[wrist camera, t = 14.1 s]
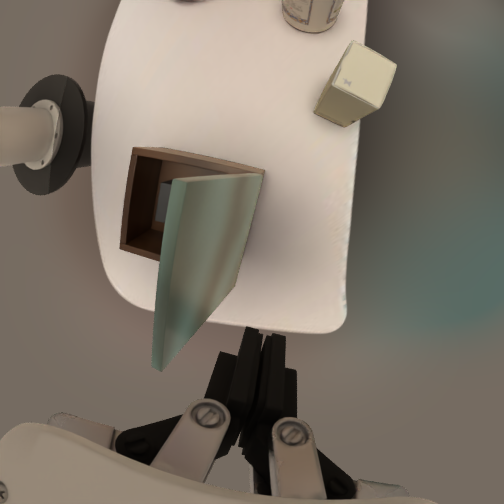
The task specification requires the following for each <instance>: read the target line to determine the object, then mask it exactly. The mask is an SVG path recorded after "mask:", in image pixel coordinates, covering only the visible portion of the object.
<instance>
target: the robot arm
mask: <svg viewBox="0 0 504 504" xmlns="http://www.w3.org/2000/svg"><path fill="white" fill-rule="evenodd" d="M62 136H63V117H62V113H61V110H60V108H59V106H58V105H57V104H56V103H55V102H54V101H52V100H41V101H38V102H37V103H35V104H34V105H33V106H32V107H0V167H3V166H8V165H14V164H20V163H25V164H26V166H28V167H29V168H31V169H33V170H38V169H42V168H45V167H46V166H48V165H49V164H50V163H51V162H52V161H53V159H54V158H55V156H56V154H57V152H58V150H59V147H60V144H61V141H62ZM262 339H263V334H260V333H259V330H258V329H255V328H251V327H247V326H246V329H245V332H244V335H243V339H242V343H241V346H240V349H239V352H238V356H235V355H232V354H228V353H225V352H221V351H220V353H219V355H218V358H217V361H216V364H215V367H214V370H213V373H212V376H211V379H210V382H209V385H208V388H207V391H206V394H205V397H204V399H198V400H196V401H194V402H192V403H191V404H190V405H189V406H188V408H187V409H186V411H185V412H184V414H182V415H179V416H176V417H172V418H169V419H166V420H163V421H159V422H156V423H152V424H148V425H145V426H141V427H137V428H133V429H129V430H126V431H119V430H115V428H114V427H111V426H108V425H104V424H100V423H97V422H93V421H90V420H87V419H83V418H80V417H77V416H74V415H71V414H68V413H63V412H61V413H56V414H54V415H53V416H51V417H50V419H49V420H48V423H47V425H45V424H40V423H23V424H20V425H18V426H16V427H14V428H13V429H11V430H10V431H9V432H8V433H7V434H6V435H5V436H4V437H3V438H2V439H1V440H0V504H437V503H436V502H433V501H431V500H427V499H423V498H417V497H409V493H408V492H407V490H406V489H405V488H404V487H402V486H399V485H393V484H385V483H379V482H372V481H366V480H361V479H358V480H357V481H355V480H352V479H351V477H350V476H349V475H347V474H346V473H345V472H344V471H343V470H341V469H340V468H339V467H338V466H336V465H335V464H334V463H333V462H332V461H331V460H330V459H328V458H327V457H326V456H325V455H324V454H323V453H322V452H320V451H319V450H318V449H317V448H316V444H315V440H314V435H313V432H312V430H311V428H310V427H309V425H308V424H307V423H305V422H304V421H302V420H300V419H298V418H297V371H296V370H294V369H289V368H285V348H286V337H285V336H282V335H278V334H274V333H273V334H272V335H271V336H268V335H267V336H266V339H265V341H264V344H263V347H262V350H261V346H262ZM240 432H241V433H240ZM239 434H240V439H239V445H238V447H242V448H243V450H242V455H245V459H246V460H247V461H248V462H249V463H250V468H249V474H250V493H247V492H241V491H236V490H231V489H226V488H221V487H217V486H213V485H208V484H205V481H206V479H207V477H208V475H209V473H210V471H211V469H212V467H213V465H214V463H215V461H216V459H218V458H220V457H222V456H225V455H227V454H228V452H229V450H230V448H231V445H233V446H234V445H235V443H236V441H237V438H238V436H239Z"/></svg>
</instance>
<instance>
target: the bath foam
mask: <svg viewBox="0 0 504 504" xmlns="http://www.w3.org/2000/svg"><path fill="white" fill-rule="evenodd" d="M343 2H344V0H282V11H283V15H284V17H285V19H286V21H287V22H288V23H289V24H290V25H292V26H293V27H295V28H297V29H299V30H302V31H305V32H321V31H325V30H327V29H329V28H330V27H331V26H332V25H333V24H334V23H335V21H336V19H337V16H338V14H339V12H340V9H341V7H342V4H343Z"/></svg>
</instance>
